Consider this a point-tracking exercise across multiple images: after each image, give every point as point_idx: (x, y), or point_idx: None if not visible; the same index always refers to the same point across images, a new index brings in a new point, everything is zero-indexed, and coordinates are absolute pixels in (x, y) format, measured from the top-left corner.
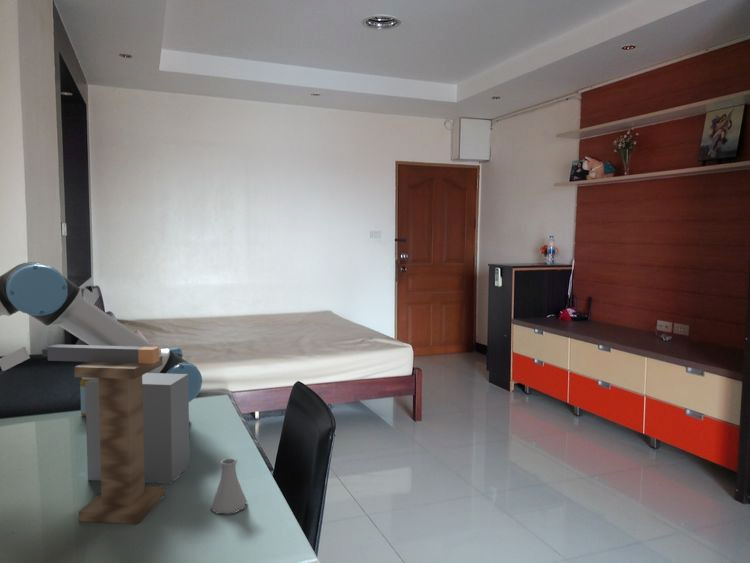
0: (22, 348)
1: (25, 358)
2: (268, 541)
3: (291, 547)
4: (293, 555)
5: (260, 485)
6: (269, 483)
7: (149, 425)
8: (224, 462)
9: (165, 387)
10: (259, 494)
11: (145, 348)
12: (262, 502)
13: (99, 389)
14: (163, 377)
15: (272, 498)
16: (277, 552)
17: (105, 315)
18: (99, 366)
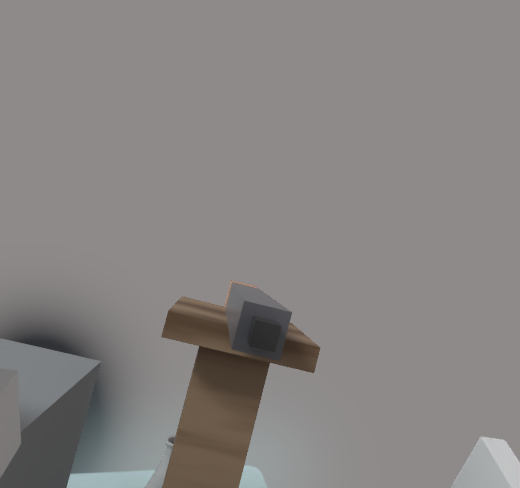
0: (14, 381)
1: (8, 454)
2: (240, 484)
3: (247, 472)
4: (260, 472)
5: (89, 482)
6: (85, 474)
7: (54, 485)
8: (171, 447)
9: (95, 370)
10: (121, 484)
11: (248, 285)
12: (147, 483)
13: (262, 391)
14: (15, 357)
15: (136, 475)
16: (258, 480)
17: None
18: (297, 334)
